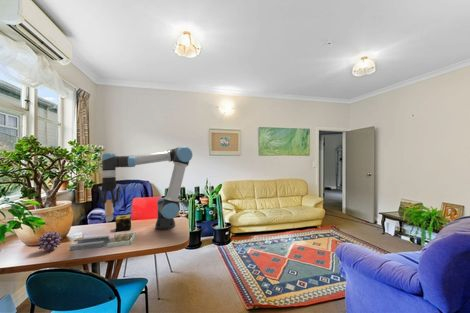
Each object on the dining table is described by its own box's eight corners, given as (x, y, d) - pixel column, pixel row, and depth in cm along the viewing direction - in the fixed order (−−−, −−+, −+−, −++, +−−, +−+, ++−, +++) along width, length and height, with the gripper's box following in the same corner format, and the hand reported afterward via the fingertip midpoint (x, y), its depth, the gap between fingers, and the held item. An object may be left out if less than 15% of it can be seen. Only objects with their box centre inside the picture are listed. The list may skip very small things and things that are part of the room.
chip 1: (122, 240, 139) (122, 234, 139) (121, 242, 135) (121, 236, 135) (116, 241, 138) (115, 235, 138) (114, 243, 134) (114, 237, 134)
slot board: (114, 239, 142) (114, 234, 142) (108, 248, 128) (107, 242, 128) (80, 243, 136) (80, 237, 136) (69, 252, 123) (69, 246, 123)
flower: (39, 257, 118) (39, 235, 118) (34, 251, 125) (34, 231, 125) (65, 249, 127) (64, 230, 127) (59, 245, 134) (59, 226, 134)
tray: (135, 236, 146) (135, 232, 146) (130, 245, 131) (130, 240, 131) (114, 239, 143) (114, 234, 143) (107, 248, 127) (107, 243, 127)
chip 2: (129, 239, 140) (129, 233, 140) (128, 241, 136) (128, 235, 136) (123, 240, 139) (122, 234, 139) (121, 242, 135) (121, 236, 135)
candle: (131, 226, 169) (131, 214, 169) (130, 230, 160) (130, 217, 160) (116, 228, 165) (116, 215, 165) (115, 232, 156) (115, 219, 156)
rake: (113, 218, 139) (113, 199, 139) (111, 221, 134) (110, 200, 134) (108, 219, 138) (108, 199, 138) (105, 221, 133) (105, 201, 133)
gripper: (124, 175, 142) (124, 210, 142) (96, 176, 138) (97, 212, 137) (121, 176, 135) (121, 213, 135) (92, 177, 130) (93, 215, 130)
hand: (109, 212), depth 136 cm, fingers closed on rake, 3 cm apart
